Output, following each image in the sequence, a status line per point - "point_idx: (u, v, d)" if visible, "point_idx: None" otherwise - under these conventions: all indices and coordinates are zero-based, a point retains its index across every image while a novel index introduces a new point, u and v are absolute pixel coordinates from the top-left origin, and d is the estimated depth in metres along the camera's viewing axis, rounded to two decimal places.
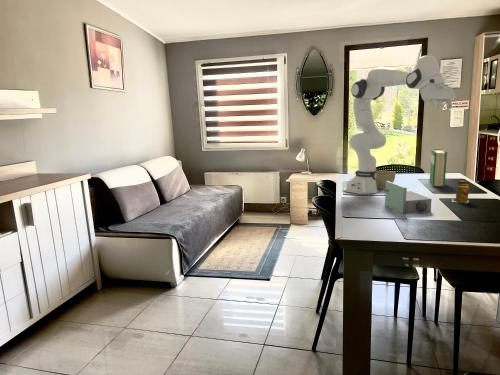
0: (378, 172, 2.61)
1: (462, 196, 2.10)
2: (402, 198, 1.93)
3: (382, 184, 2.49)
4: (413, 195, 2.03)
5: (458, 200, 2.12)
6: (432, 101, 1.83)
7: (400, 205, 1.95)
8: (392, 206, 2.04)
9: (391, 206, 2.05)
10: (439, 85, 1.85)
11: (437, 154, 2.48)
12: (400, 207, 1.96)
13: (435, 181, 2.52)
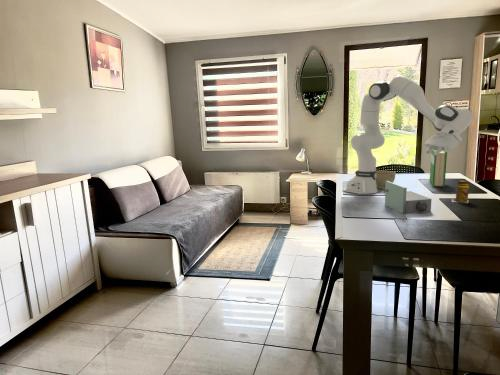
0: (378, 172, 2.61)
1: (462, 196, 2.10)
2: (402, 198, 1.93)
3: (382, 184, 2.49)
4: (413, 195, 2.03)
5: (458, 200, 2.12)
6: (441, 149, 1.94)
7: (400, 205, 1.95)
8: (392, 206, 2.04)
9: (391, 206, 2.05)
10: None
11: (437, 154, 2.48)
12: (400, 207, 1.96)
13: (435, 181, 2.52)
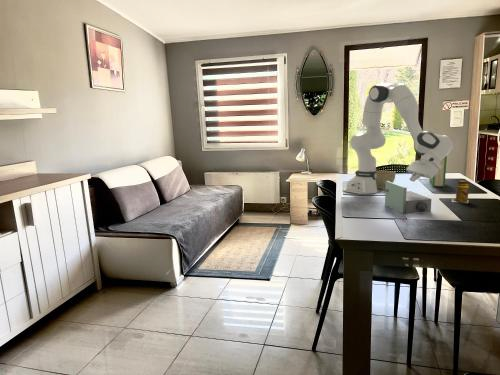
0: (378, 172, 2.61)
1: (462, 196, 2.10)
2: (402, 198, 1.93)
3: (382, 184, 2.49)
4: (413, 195, 2.03)
5: (458, 200, 2.12)
6: (419, 176, 1.98)
7: (400, 205, 1.95)
8: (392, 206, 2.04)
9: (391, 206, 2.05)
10: None
11: None
12: (400, 207, 1.96)
13: (435, 181, 2.52)
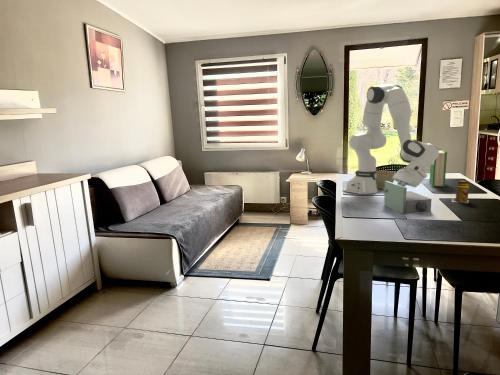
0: (378, 172, 2.61)
1: (462, 196, 2.10)
2: (402, 198, 1.93)
3: (382, 184, 2.49)
4: (413, 195, 2.03)
5: (458, 200, 2.12)
6: (404, 184, 1.98)
7: (400, 205, 1.95)
8: (392, 206, 2.04)
9: (391, 206, 2.05)
10: None
11: None
12: (400, 207, 1.96)
13: (435, 181, 2.52)
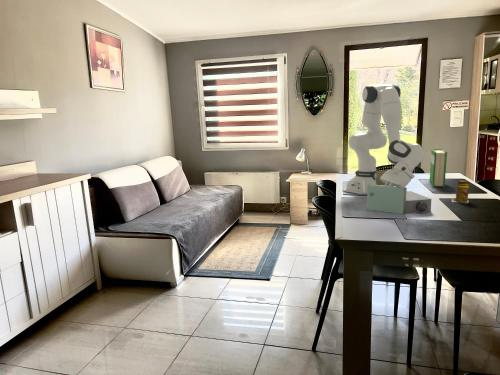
0: (378, 172, 2.61)
1: (462, 196, 2.10)
2: (401, 198, 1.92)
3: (382, 184, 2.49)
4: (413, 195, 2.03)
5: (458, 200, 2.12)
6: (392, 185, 1.97)
7: (398, 206, 1.94)
8: (382, 209, 1.99)
9: (380, 209, 2.00)
10: None
11: (437, 154, 2.48)
12: (398, 208, 1.94)
13: (435, 181, 2.52)
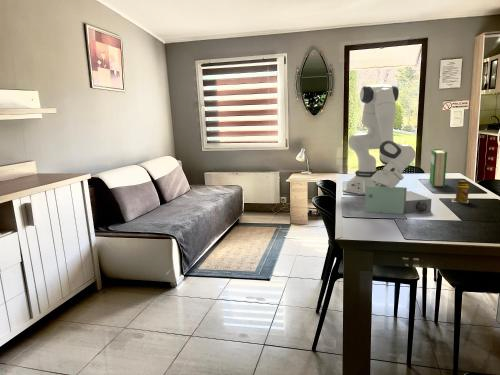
0: None
1: (462, 196, 2.10)
2: (402, 199, 1.92)
3: None
4: (413, 195, 2.03)
5: (458, 200, 2.12)
6: (381, 186, 1.97)
7: (398, 206, 1.93)
8: (381, 210, 1.97)
9: (379, 210, 1.97)
10: None
11: (437, 154, 2.48)
12: (398, 208, 1.93)
13: (435, 181, 2.52)
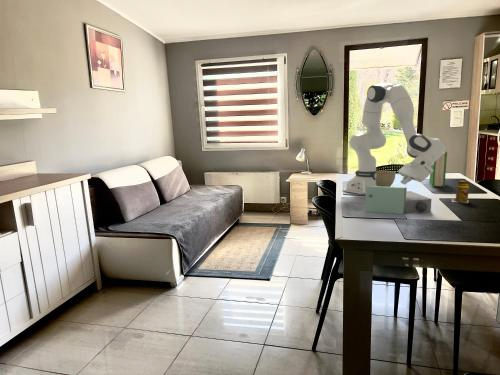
0: (378, 172, 2.61)
1: (462, 196, 2.10)
2: (402, 199, 1.92)
3: (382, 184, 2.49)
4: (413, 195, 2.03)
5: (458, 200, 2.12)
6: (410, 179, 1.98)
7: (398, 206, 1.93)
8: (381, 210, 1.97)
9: (379, 210, 1.97)
10: None
11: None
12: (398, 208, 1.93)
13: (435, 181, 2.52)
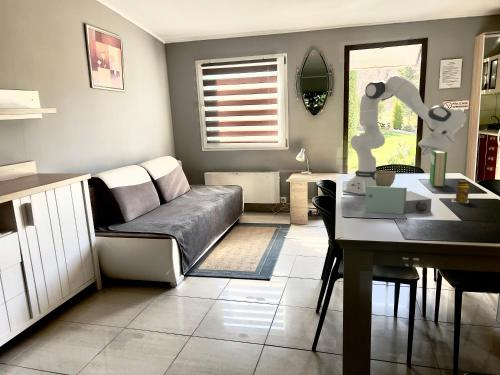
0: (378, 172, 2.61)
1: (462, 196, 2.10)
2: (402, 199, 1.92)
3: (382, 184, 2.49)
4: (413, 195, 2.03)
5: (458, 200, 2.12)
6: (431, 149, 1.96)
7: (398, 206, 1.93)
8: (381, 210, 1.97)
9: (379, 210, 1.97)
10: None
11: (437, 154, 2.48)
12: (398, 208, 1.93)
13: (435, 181, 2.52)
